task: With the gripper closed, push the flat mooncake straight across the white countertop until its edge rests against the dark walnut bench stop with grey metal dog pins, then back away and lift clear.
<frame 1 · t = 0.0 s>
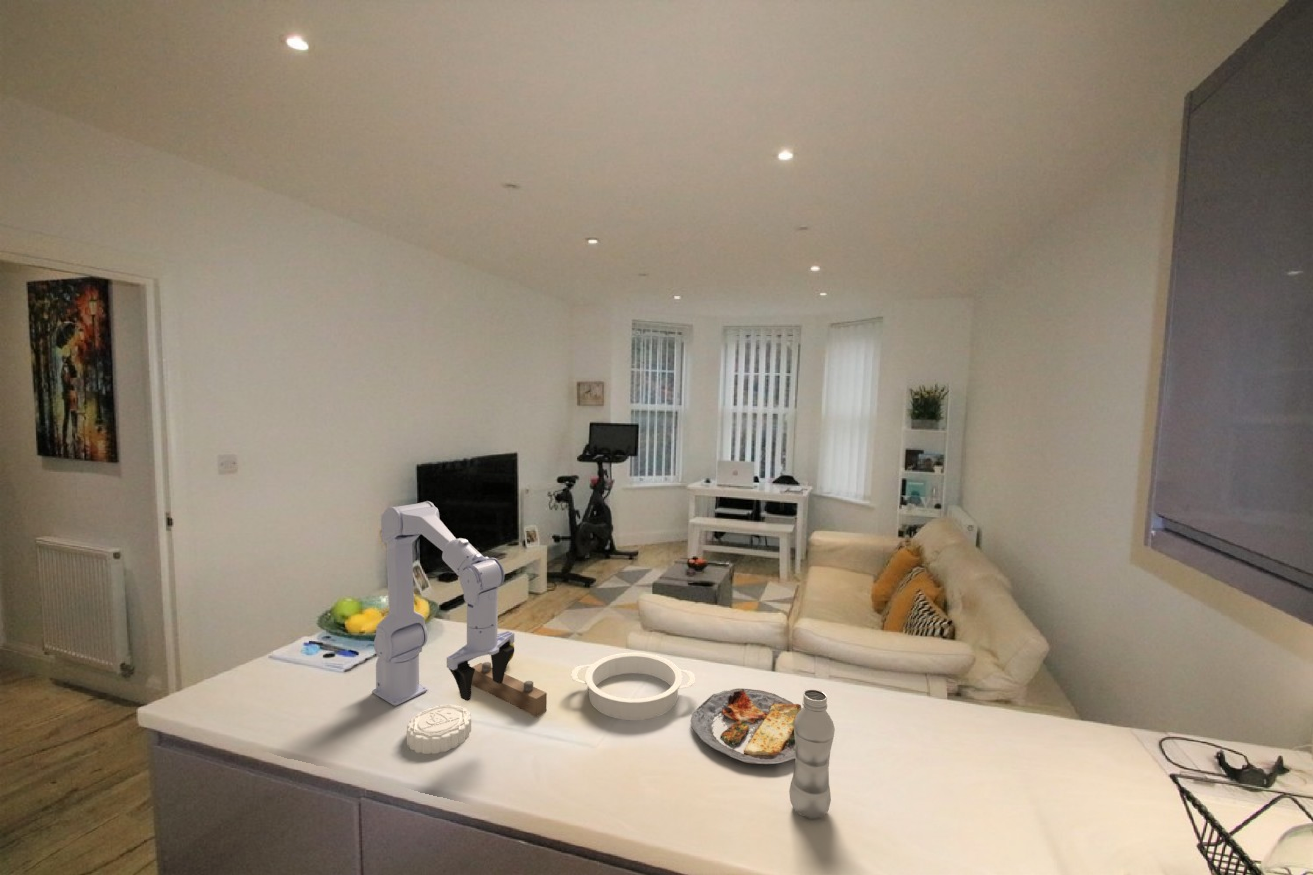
hand: (482, 689, 107), 10 cm above the counter, tool pointing down, fingers open, 7 cm apart
pot: (632, 696, 125), on the counter
mooncake: (439, 736, 109), on the counter
food plate: (752, 731, 113), on the counter
plastic bottle: (809, 810, 91), on the counter
lemon: (502, 666, 137), on the counter
bench stop: (506, 696, 123), on the counter
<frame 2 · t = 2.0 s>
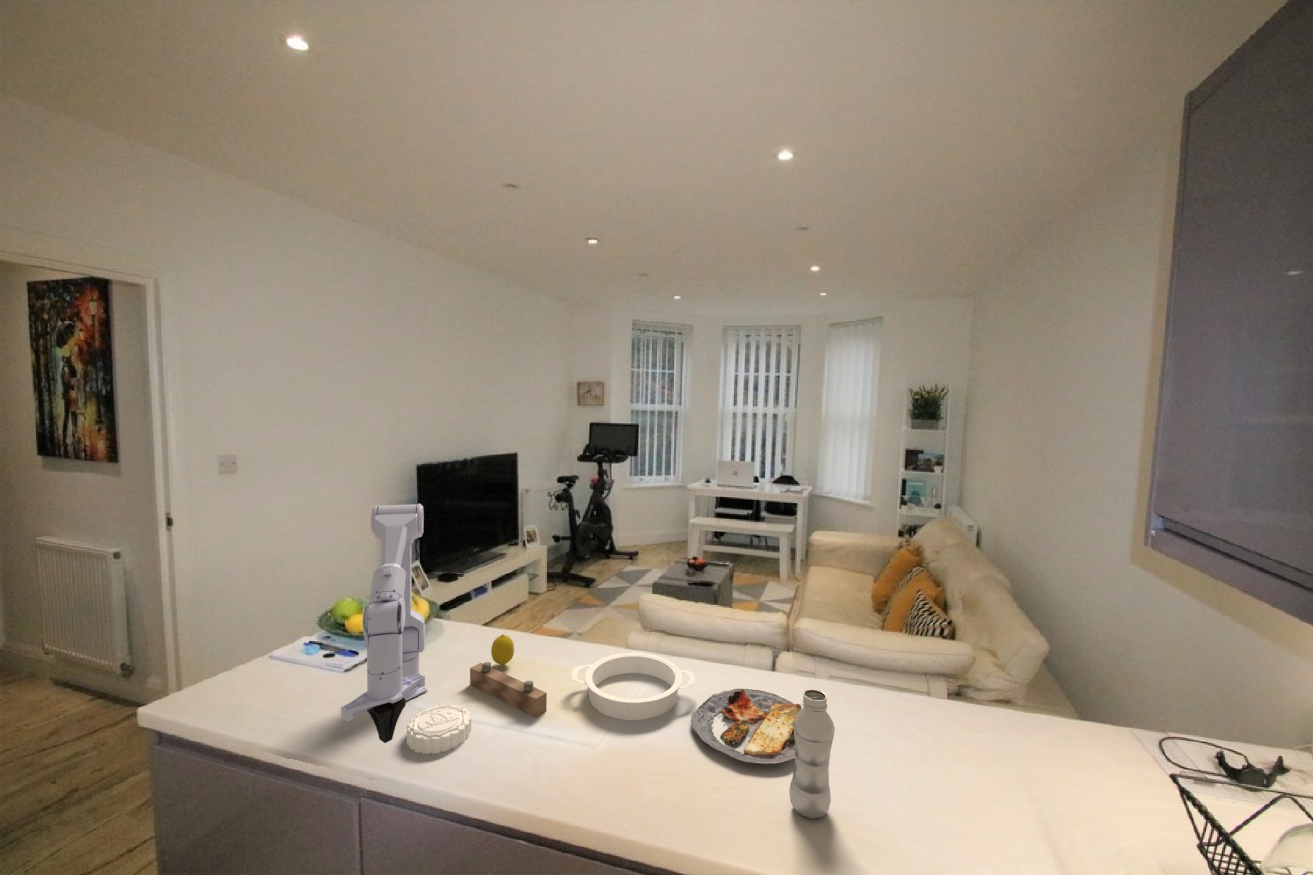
hand: (385, 739, 99), 5 cm above the counter, tool pointing down, fingers closed
nothing on the counter moved.
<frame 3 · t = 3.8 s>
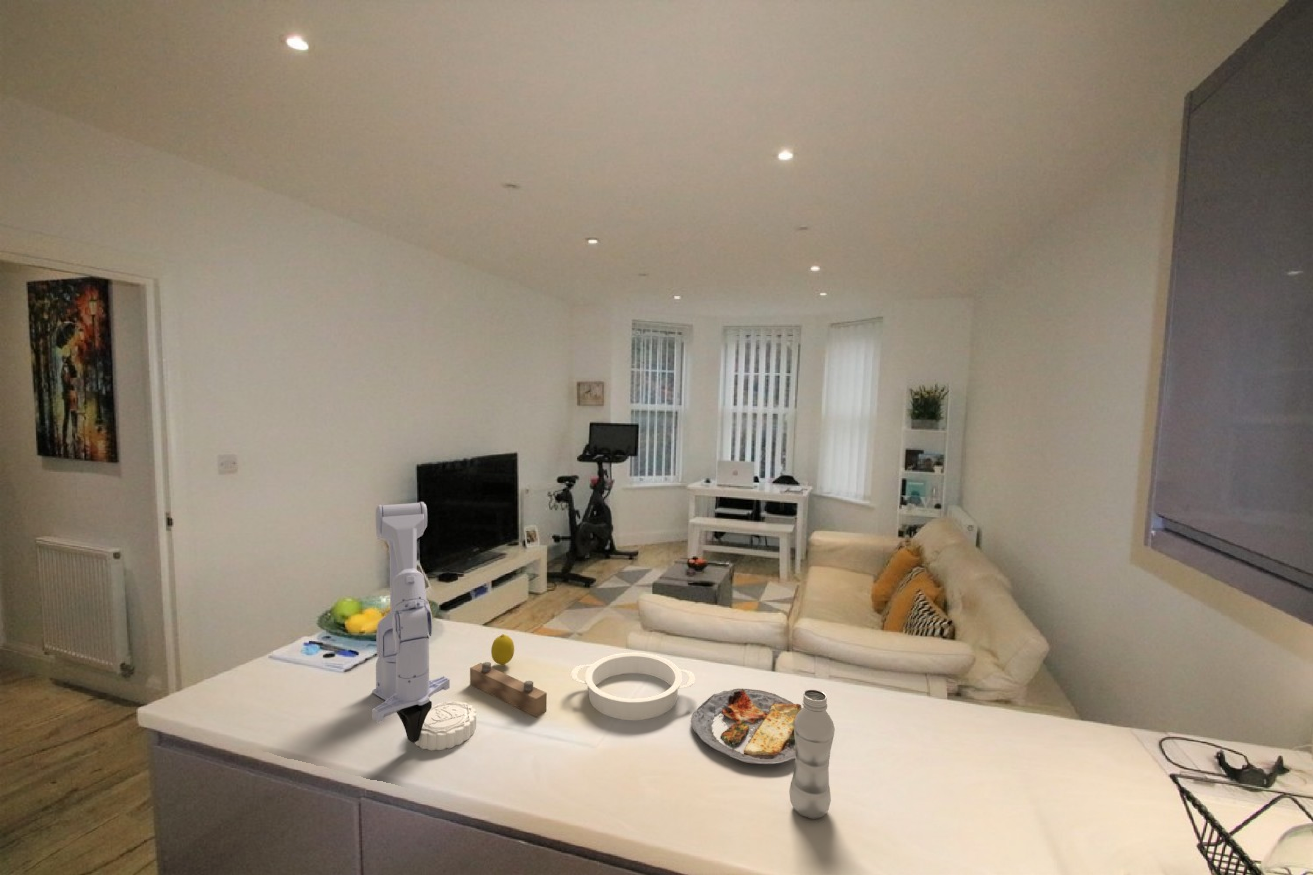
hand: (413, 739, 104), 2 cm above the counter, tool pointing down, fingers closed
mooncake: (445, 732, 110), on the counter, touching gripper
everything else where it was.
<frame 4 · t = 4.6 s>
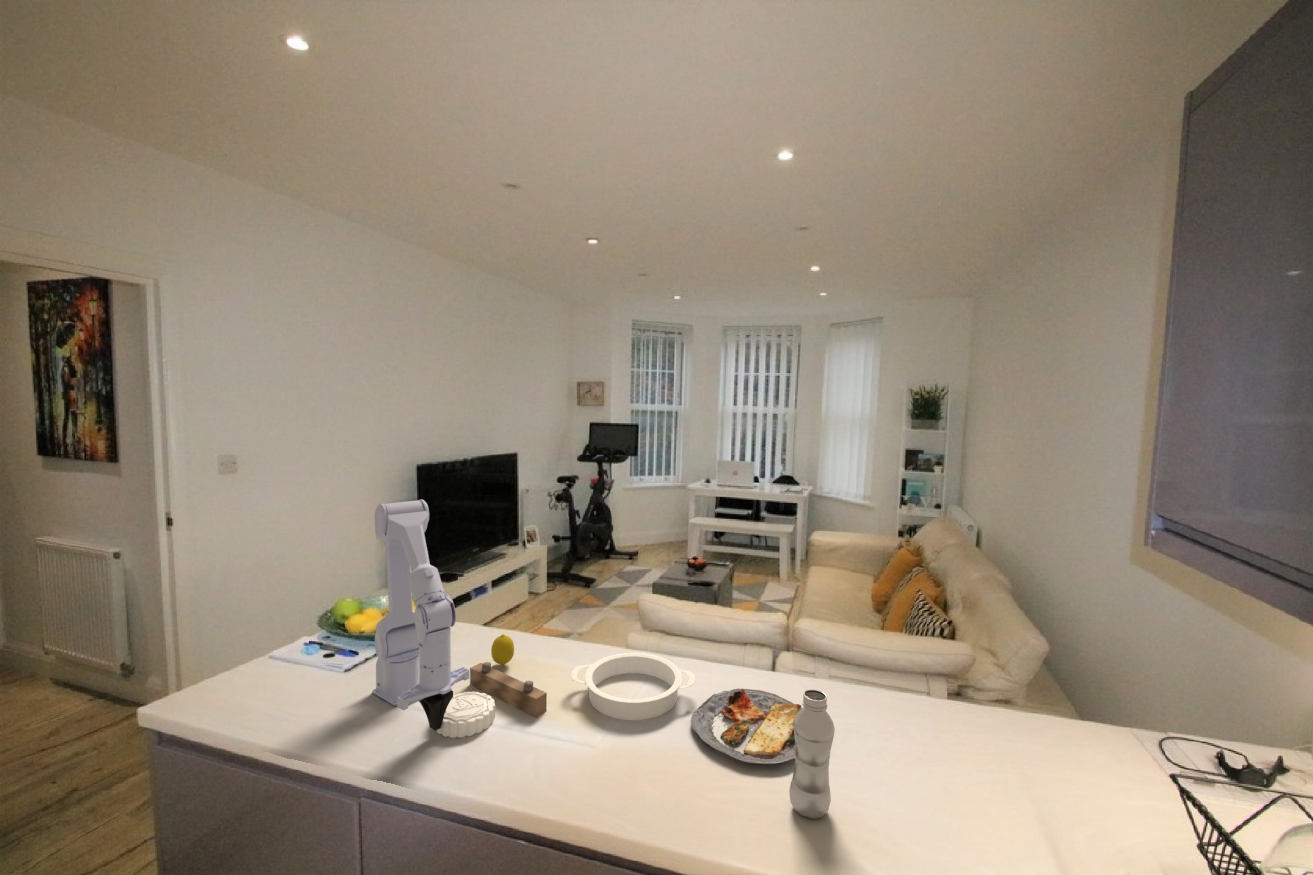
hand: (435, 727, 108), 2 cm above the counter, tool pointing down, fingers closed
mooncake: (465, 721, 113), on the counter, touching gripper
everything else where it was.
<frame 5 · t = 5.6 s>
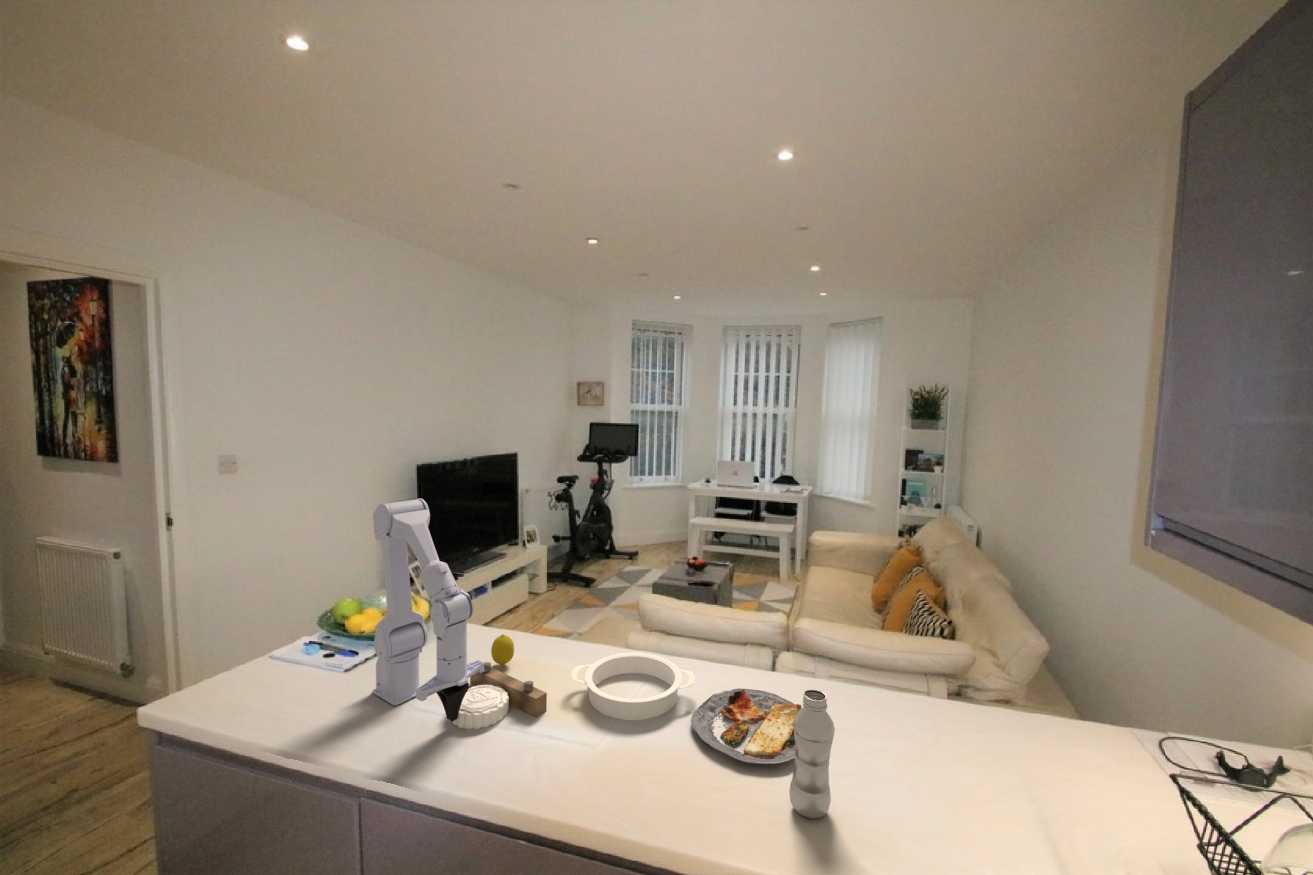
hand: (451, 718, 111), 2 cm above the counter, tool pointing down, fingers closed
mooncake: (479, 713, 116), on the counter, touching bench stop, gripper
everything else where it was.
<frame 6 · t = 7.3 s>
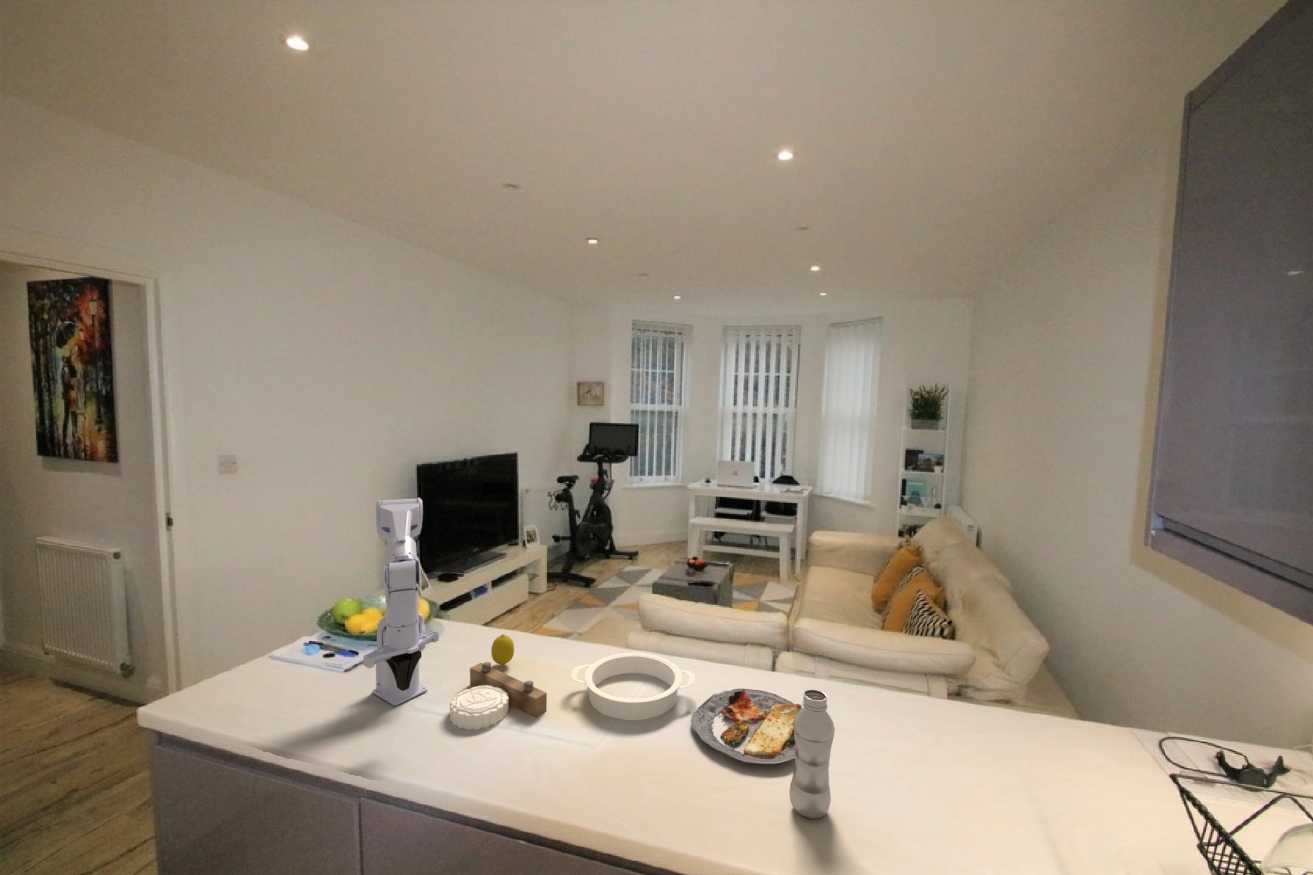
hand: (403, 688, 108), 9 cm above the counter, tool pointing down, fingers closed
mooncake: (479, 714, 117), on the counter
everything else where it was.
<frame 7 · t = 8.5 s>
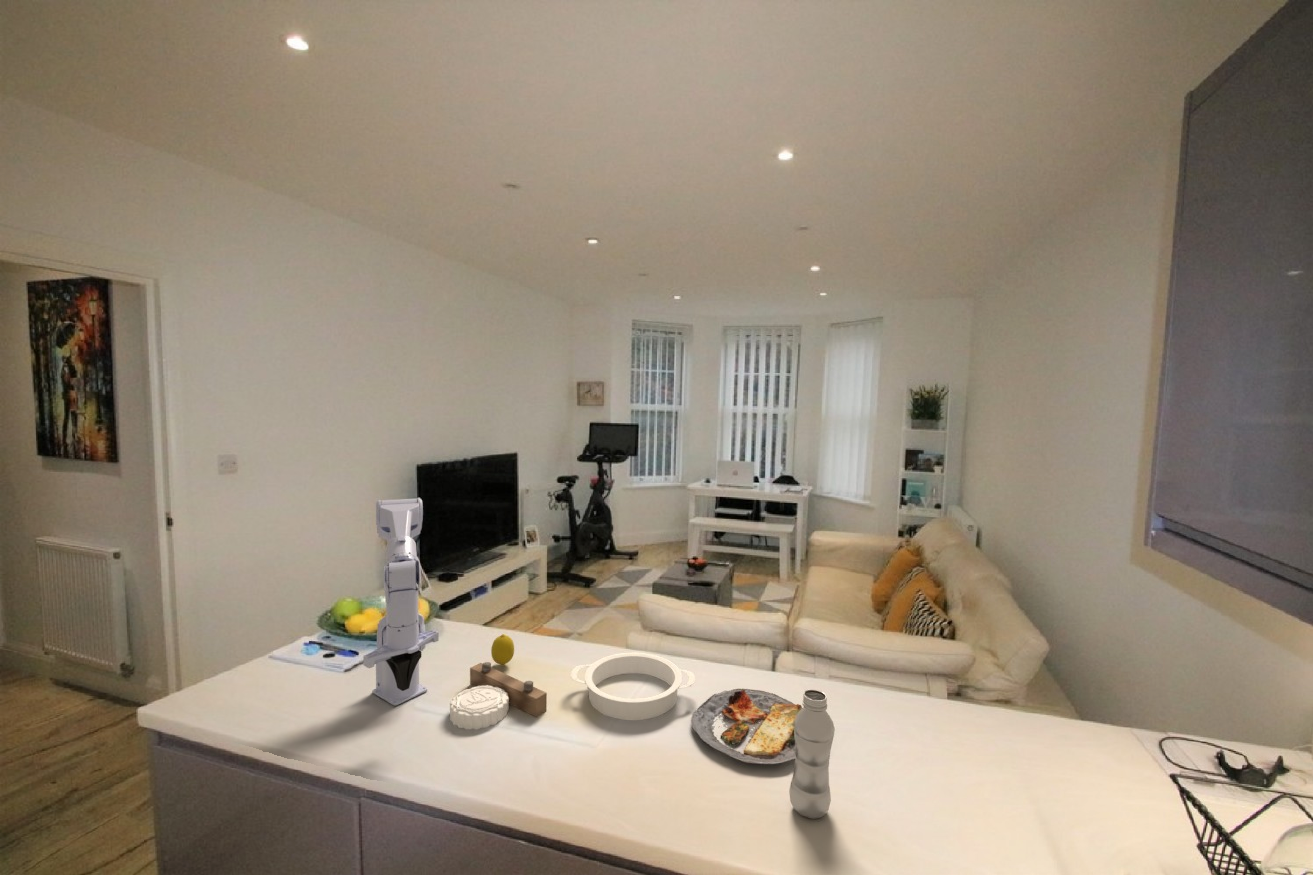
hand: (403, 688, 108), 9 cm above the counter, tool pointing down, fingers closed
nothing on the counter moved.
at the end: mooncake inside the target area (0.1 cm from its centre), on the counter; mooncake moved 9.6 cm from its start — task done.
